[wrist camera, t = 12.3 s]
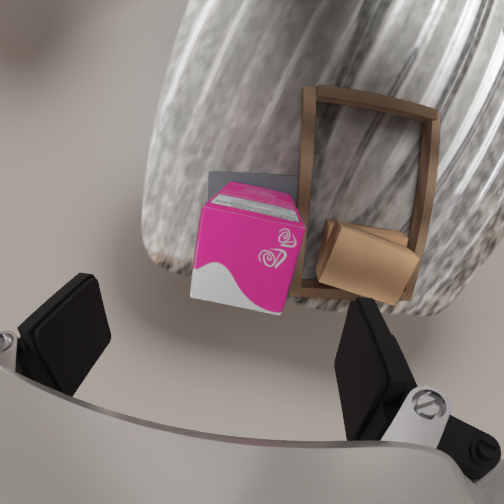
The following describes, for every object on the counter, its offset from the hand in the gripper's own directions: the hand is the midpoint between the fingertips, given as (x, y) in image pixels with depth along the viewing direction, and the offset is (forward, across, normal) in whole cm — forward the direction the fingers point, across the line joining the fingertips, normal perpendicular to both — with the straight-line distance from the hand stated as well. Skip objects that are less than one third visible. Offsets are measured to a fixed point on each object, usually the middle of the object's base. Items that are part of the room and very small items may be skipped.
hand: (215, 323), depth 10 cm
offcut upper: (+16, -10, +4) cm, 19 cm away
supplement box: (+18, 0, +1) cm, 18 cm away
